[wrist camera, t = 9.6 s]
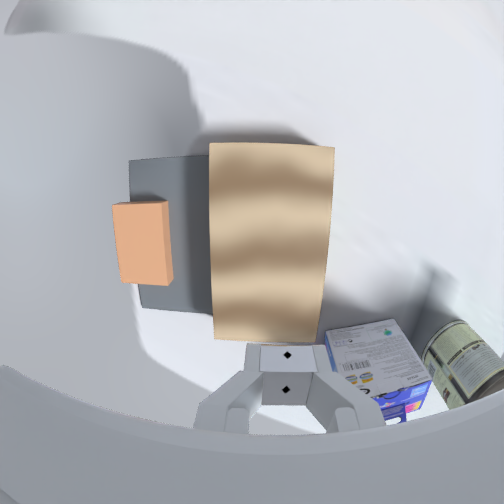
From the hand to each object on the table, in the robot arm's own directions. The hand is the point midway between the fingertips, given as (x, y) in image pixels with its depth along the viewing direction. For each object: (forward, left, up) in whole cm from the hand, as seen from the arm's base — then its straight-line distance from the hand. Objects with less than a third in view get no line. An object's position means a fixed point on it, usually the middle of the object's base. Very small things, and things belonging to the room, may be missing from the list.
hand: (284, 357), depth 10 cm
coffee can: (+17, +29, -20) cm, 39 cm away
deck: (+1, 0, -20) cm, 20 cm away
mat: (+1, -11, -20) cm, 23 cm away
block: (+1, -14, -18) cm, 23 cm away
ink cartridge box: (+14, +12, -20) cm, 27 cm away
